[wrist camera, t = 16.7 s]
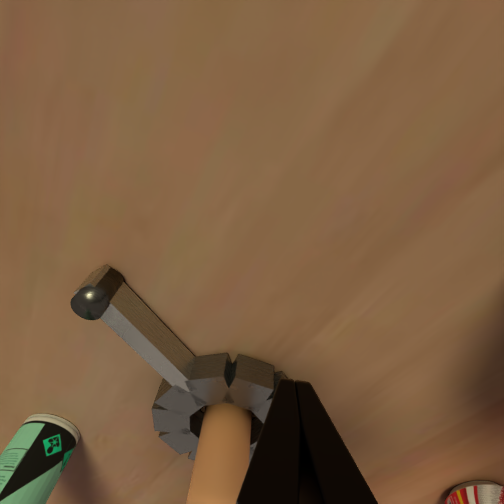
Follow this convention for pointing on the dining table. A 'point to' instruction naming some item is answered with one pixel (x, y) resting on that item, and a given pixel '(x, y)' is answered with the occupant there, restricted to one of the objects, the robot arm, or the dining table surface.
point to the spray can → (36, 459)
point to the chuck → (177, 364)
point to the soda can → (476, 493)
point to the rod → (221, 455)
